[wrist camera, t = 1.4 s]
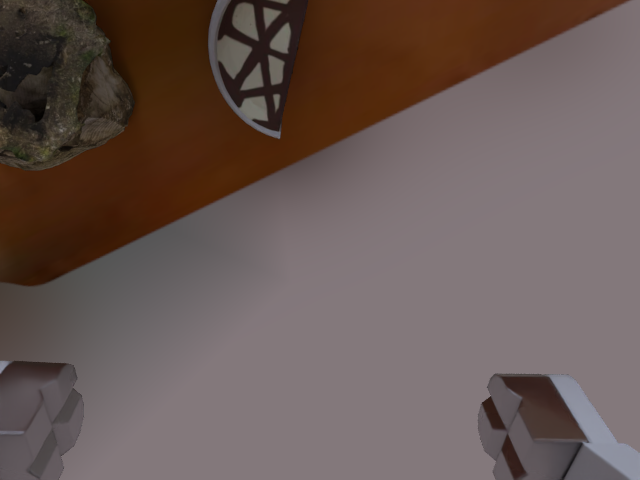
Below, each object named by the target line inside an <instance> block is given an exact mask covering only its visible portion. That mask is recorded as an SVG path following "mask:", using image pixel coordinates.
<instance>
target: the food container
mask: <svg viewBox="0 0 640 480" xmlns="http://www.w3.org/2000/svg"><path fill="white" fill-rule="evenodd" d="M307 4H308V0H218V1H217V3H216V6H215V8H214V11H213V14H212V17H211V22H210V27H209V37H208V49H209V59H210V64H211V68H212V72H213V75H214V78H215V80H216V83H217V85H218V88H219V90H220V92H221V94H222V95H223V97H224V99H225V100H226V102H227V103H228V105H229V106H230V107H231V108H232V110H233V111H234V112H235V113H236V114H237V115H238V116H239V117H240V118H241V119H242V120H243V121H244V122H246V123H247V124H249V125H250V126H251V127H253V128H254V129H256V130H258V131H260V132H262V133H264V134H266V135H268V136H271V137H275V138H278V139H280V134H281V124H282V115H283V111H284V106H285V102H286V98H287V93H288V88H289V84H290V79H291V75H292V73H293V66H294V61H295V57H296V53H297V50H298V43H299V39H300V34H301V30H302V26H303V22H304V18H305V13H306V9H307Z"/></svg>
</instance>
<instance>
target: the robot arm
mask: <svg viewBox="0 0 640 480" xmlns="http://www.w3.org/2000/svg"><path fill="white" fill-rule="evenodd" d="M76 380H77V375H76V372H75V368H74V365H71V364H66V363H45V362H25V361H0V480H59V478H60V476H61V473H62V471H63V469H64V466H63V463H62V459H61V456H62V455H63V454H64V453H66V452H67V451H68V450H70V449H71V448H72V447H73V446H74V445H75V443H76V440H77V438H78V436H79V434H80V431H81V426H82V421H83V417H84V404H83V400H82V395H81V394H80V393H78V392H77V391H76V390H75V389H74V388H73V386H74V384H75V382H76ZM487 388H488V390H489V393H490V395H491V396H490V397H489V398H488V399H486V400H485V401H484V402H482V404H481V407H480V411H479V414H478V430H479V435H480V440H481V442H482V445H483V448H484V450H485V452H486V453H487V454H489V455H490V456H491V457H492V458H493V459H494V460H496V464H495V466H494V469H493V474H494V476H495V479H496V480H640V453H639V452H637V451H636V450H634V449H633V448H632V447H630V446H629V445H627V444H621V443H618V442H617V441H616V439H615V438H614V436H613V435H612V433H611V432H610V430H609V429H608V427H607V426H606V424H605V423H604V421H603V420H602V418H601V417H600V415H599V414H598V413H597V411H596V409H595V408H594V407H593V405H592V404H591V402H590V401H589V399H588V398H587V396H586V395H585V393H584V392H583V390H582V389H581V388H580V386H579V385H578V383H577V382H576V380H575V379H574V378H573V377H571V376H570V375H554V374H545V375H541V374H494V375H493V376H492V377H491V379H490V381H489V384H488V387H487Z"/></svg>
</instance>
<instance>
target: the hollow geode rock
mask: <svg viewBox="0 0 640 480" xmlns="http://www.w3.org/2000/svg"><path fill="white" fill-rule="evenodd" d="M96 18H97V16H96V14H95V12H94V9H93V8H92V7H91V6H90V5H88V4H87V3H86V2H84V1H82V0H0V163H2V164H6V165H9V166H12V167H17V168H21V169H23V170H36V171H37V170H43V169H47V168H52V167H54V166H57V165H59V164H61V163H63V162H65V161H68V160H70V159H72V158H73V157H75V156H77V155H78V154H80V153H82V152H84V151H86V150H88V149H92V148H96V147H98V146H101V145H103V144H105V143H106V142H107V141H108V140H109V139H112V138H114V137H115V136H117V135H118V134H120V133H121V132H122V131H124V130H125V126H128V120H129V117H130V116H131V115H132V111H133V108H134V104H135V102H134V100H133V97H132V93H131V91H130V89H129V87H128V85H127V83H126V82H125V81H124V80H123V79H122V77H121V76H120V74H119V73H118V72H117V71H116V70H115V69H114V67H113V61H112V55H111V50H110V47H109V45H108V44H109V43H110V42H111V41H110V40H109V39H108V38H106V36H105V33H104V32H103V30H102V29H101V28H99V27H98V26H96Z"/></svg>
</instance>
